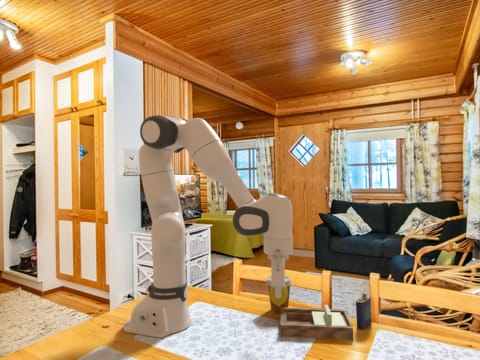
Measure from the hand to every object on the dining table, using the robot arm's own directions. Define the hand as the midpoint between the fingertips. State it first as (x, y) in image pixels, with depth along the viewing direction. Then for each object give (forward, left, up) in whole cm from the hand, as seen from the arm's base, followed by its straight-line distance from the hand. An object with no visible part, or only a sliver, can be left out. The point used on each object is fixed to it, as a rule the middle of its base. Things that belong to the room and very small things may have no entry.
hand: (278, 292), depth 92 cm
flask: (+28, +14, -15) cm, 35 cm away
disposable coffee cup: (0, +24, -15) cm, 28 cm away
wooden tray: (+11, +11, -15) cm, 22 cm away
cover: (+16, +11, -13) cm, 23 cm away
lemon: (0, 0, -4) cm, 4 cm away
